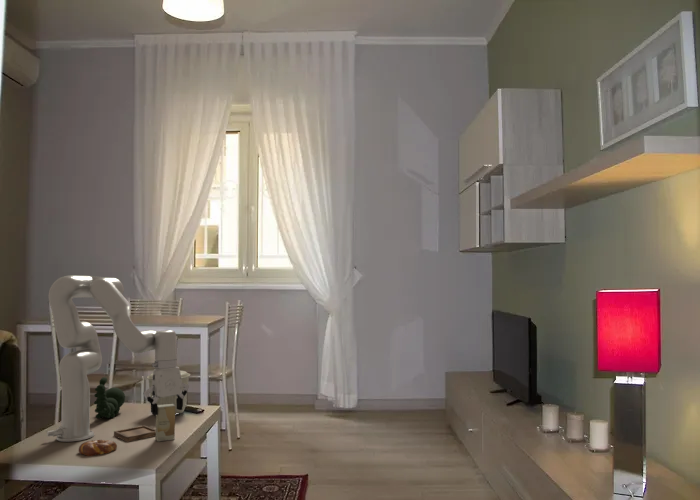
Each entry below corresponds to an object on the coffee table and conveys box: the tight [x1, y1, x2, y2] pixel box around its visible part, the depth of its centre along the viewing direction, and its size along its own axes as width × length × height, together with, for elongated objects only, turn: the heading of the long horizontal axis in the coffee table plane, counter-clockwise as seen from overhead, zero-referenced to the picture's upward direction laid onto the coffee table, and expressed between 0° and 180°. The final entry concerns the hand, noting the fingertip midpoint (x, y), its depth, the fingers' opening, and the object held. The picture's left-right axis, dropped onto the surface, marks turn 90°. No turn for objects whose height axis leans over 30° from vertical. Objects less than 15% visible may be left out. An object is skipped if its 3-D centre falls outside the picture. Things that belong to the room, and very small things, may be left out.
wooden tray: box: [113, 425, 156, 443], centre depth 216 cm, size 12×12×2 cm
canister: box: [146, 370, 191, 414], centre depth 251 cm, size 18×18×21 cm
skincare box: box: [155, 404, 176, 442], centre depth 211 cm, size 6×4×12 cm
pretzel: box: [78, 439, 118, 457], centre depth 197 cm, size 12×11×4 cm
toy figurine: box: [93, 376, 126, 419], centre depth 249 cm, size 9×19×25 cm
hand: (167, 411), depth 211 cm, fingers open, 9 cm apart
